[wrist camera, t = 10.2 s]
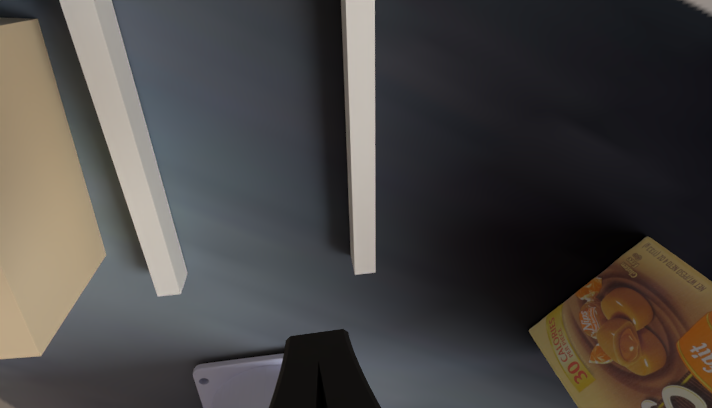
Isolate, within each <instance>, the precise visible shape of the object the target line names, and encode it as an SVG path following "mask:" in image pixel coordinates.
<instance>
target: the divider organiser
mask: <svg viewBox="0 0 712 408" xmlns="http://www.w3.org/2000/svg"><path fill="white" fill-rule="evenodd" d="M59 1H60V4H61V7H62V10H63V13H64V16H65V19H66V22H67V25H68V28H69V31H70V34H71V37H72V40H73V43H74V46H75V49H76V52H77V55H78V58H79V61H80V64H81V67H82V70H83V73H84V76H85V79H86V82H87V85H88V88H89V91H90V94H91V97H92V100H93V103H94V106H95V109H96V112H97V115H98V118H99V121H100V124H101V127H102V130H103V133H104V136H105V139H106V142H107V145H108V148H109V151H110V154H111V157H112V160H113V163H114V166H115V169H116V172H117V175H118V178H119V181H120V184H121V187H122V190H123V193H124V196H125V199H126V202H127V205H128V208H129V211H130V214H131V217H132V220H133V223H134V226H135V229H136V232H137V235H138V238H139V241H140V244H141V247H142V250H143V253H144V256H145V259H146V262H147V265H148V268H149V271H150V274H151V277H152V280H153V283H154V286H155V289H156V292H157V295H158V296H167V295H176V294H181V292H182V289H183V286H184V283H185V280H186V277H187V274H188V273H187V269H186V266H185V262H184V259H183V255H182V251H181V248H180V244H179V241H178V237H177V234H176V230H175V226H174V223H173V219H172V216H171V212H170V208H169V205H168V201H167V198H166V194H165V190H164V187H163V183H162V180H161V176H160V172H159V169H158V165H157V162H156V158H155V154H154V151H153V147H152V144H151V140H150V137H149V133H148V129H147V126H146V122H145V119H144V115H143V111H142V108H141V104H140V101H139V97H138V93H137V90H136V86H135V83H134V79H133V75H132V72H131V68H130V65H129V61H128V57H127V54H126V50H125V47H124V43H123V40H122V36H121V32H120V29H119V25H118V22H117V18H116V14H115V11H114V7H113V4H112V0H59ZM341 16H342V42H343V68H344V94H345V120H346V146H347V172H348V198H349V224H350V250H351V260H352V264H353V269H354V273H355V275H358V274H367V273H376V269H375V0H341Z"/></svg>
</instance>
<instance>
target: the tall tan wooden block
mask: <svg viewBox="0 0 712 408" xmlns="http://www.w3.org/2000/svg"><path fill="white" fill-rule="evenodd" d="M105 256H106V252H105V249H104V245H103V242H102V239H101V235H100V232H99V228H98V225H97V221H96V218H95V214H94V211H93V208H92V204H91V201H90V197H89V194H88V190H87V187H86V183H85V180H84V177H83V173H82V170H81V166H80V163H79V159H78V156H77V152H76V149H75V146H74V142H73V139H72V135H71V132H70V128H69V125H68V121H67V118H66V115H65V111H64V108H63V104H62V101H61V97H60V94H59V90H58V87H57V84H56V80H55V77H54V73H53V70H52V66H51V63H50V59H49V56H48V53H47V49H46V46H45V42H44V39H43V35H42V32H41V28H40V25H39V22H38V19H29V18H0V359H10V358H24V357H37V356H41V355H42V354H43V352H44V351H45V349H46V348H47V346H48V345H49V343H50V341H51V340H52V338H53V337H54V335H55V334H56V332H57V331H58V329H59V328H60V326H61V324H62V323H63V321H64V320H65V318H66V317H67V315H68V314H69V312H70V310H71V309H72V307H73V306H74V304H75V303H76V301H77V300H78V298H79V296H80V295H81V293H82V292H83V290H84V289H85V287H86V286H87V284H88V283H89V281H90V279H91V278H92V276H93V275H94V273H95V272H96V270H97V269H98V267H99V265H100V264H101V262H102V261H103V259H104V258H105Z"/></svg>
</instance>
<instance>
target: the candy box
mask: <svg viewBox="0 0 712 408" xmlns="http://www.w3.org/2000/svg"><path fill="white" fill-rule="evenodd" d="M529 333H530V334H531V336H532V338H533V339H534V341H535V342H536V344H537V345H538V347H539V348H540V350H541V352H542V353H543V355H544V356H545V358H546V359H547V361H548V362H549V364H550V365H551V367H552V368H553V370H554V371H555V373H556V375H557V376H558V378H559V379H560V381H561V382H562V384H563V385H564V387H565V388H566V390H567V391H568V393H569V394H570V396H571V397H572V399H573V400H574V402H575V403H576V405H577V406H578V408H712V282H711V281H710V280H709V279H707V278H706V277H705V276H703V275H702V274H700V273H699V272H698V271H696V270H695V269H693V268H692V267H691V266H689V265H688V264H687V263H685V262H684V261H682V260H681V259H680V258H678V257H677V256H675V255H674V254H673V253H671V252H670V251H668V250H667V249H666V248H664V247H663V246H661V245H660V244H659V243H657V242H656V241H655V240H653V239H652V238H650V237H645V238H644V239H643V240H642V241H640V242H639V243H638V244H637V245H635V246H634V247H633V248H631V249H630V250H628V251H627V252H626V253H624V254H623V255H622V256H621V257H620V258H618V259H617V260H616V261H615V262H613V263H612V264H611V265H610V266H609V267H608V268H607V269H605V270H604V271H603V272H602V273H600V274H599V275H598V276H596V277H595V278H594V279H592V280H591V281H590V282H588V283H587V284H586V285H585V286H583V287H582V288H581V289H580V290H578V291H577V292H576V293H575V294H574V295H572V296H571V297H570V298H569V299H567V300H566V301H565V302H564V303H562V304H561V305H560V306H558V307H557V308H556V309H554V310H553V311H552V312H550V313H549V314H548V315H547V316H545V317H544V318H543V319H542V320H541V321H539V322H538V323H537V324H536V325H534V326H533V327H532V328H530V329H529Z"/></svg>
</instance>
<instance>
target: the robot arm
mask: <svg viewBox="0 0 712 408" xmlns="http://www.w3.org/2000/svg"><path fill="white" fill-rule="evenodd" d="M193 378H194V381H195V384H196V387H197V390H198V394H199V397H200V400H201V403H202V406H203V408H381V407H380V405H379V403H378V401H377V399H376V398H375V396H374V394H373V392H372V390H371V388H370V386H369V384H368V382H367V380H366V378H365V376H364V374H363V372H362V369H361V367H360V365H359V363H358V360H357V358H356V356H355V353H354V350H353V348H352V345H351V342H350V338H349V335H348V332H347V331H345V330H344V329H340V330H333V331H325V332H318V333H311V334H304V335H296V336H290V337H289V338H288V339H287V340H286V344H285V351H284V353H282V354H274V355H266V356H259V357H251V358H243V359H235V360H227V361H220V362H212V363H204V364H199V365H197V366H195V368H194V370H193ZM203 378H206V379H203Z"/></svg>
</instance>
